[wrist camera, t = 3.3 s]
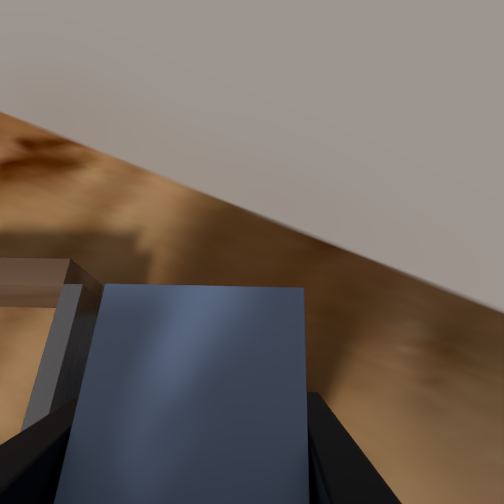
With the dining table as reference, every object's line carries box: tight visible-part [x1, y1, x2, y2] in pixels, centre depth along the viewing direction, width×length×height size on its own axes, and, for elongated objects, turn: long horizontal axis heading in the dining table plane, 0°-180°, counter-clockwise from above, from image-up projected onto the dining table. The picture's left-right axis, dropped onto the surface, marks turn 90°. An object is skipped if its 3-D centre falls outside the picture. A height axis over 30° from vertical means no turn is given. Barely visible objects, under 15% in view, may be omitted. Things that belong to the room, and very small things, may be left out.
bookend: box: [21, 284, 101, 432], centre depth 14 cm, size 7×3×3 cm, turn 178°
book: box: [54, 284, 309, 504], centre depth 11 cm, size 5×4×8 cm
